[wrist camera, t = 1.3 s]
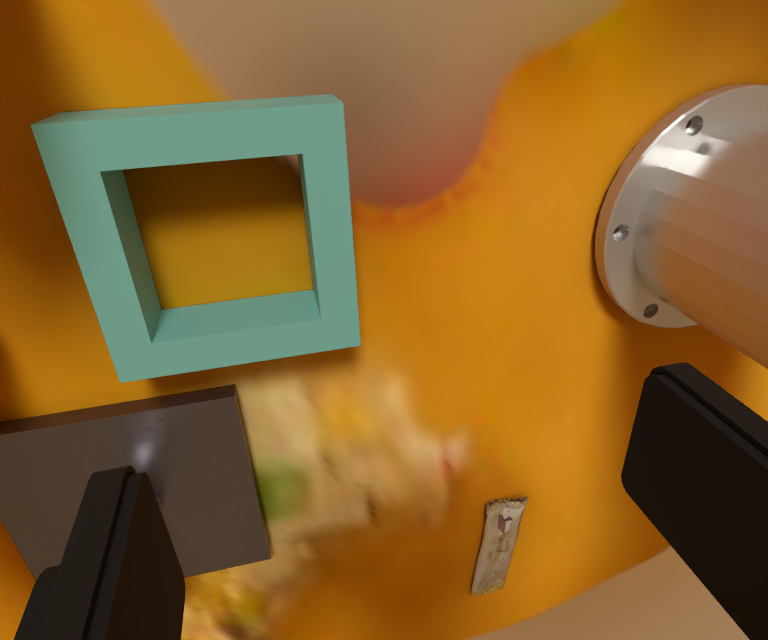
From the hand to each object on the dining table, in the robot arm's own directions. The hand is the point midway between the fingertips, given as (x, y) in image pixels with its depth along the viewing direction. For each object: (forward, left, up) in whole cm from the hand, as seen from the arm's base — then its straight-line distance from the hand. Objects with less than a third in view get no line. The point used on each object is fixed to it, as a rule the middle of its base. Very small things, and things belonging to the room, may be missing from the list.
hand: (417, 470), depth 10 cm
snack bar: (-10, +25, -16) cm, 31 cm away
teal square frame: (+4, 0, -16) cm, 16 cm away
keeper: (+11, +14, -16) cm, 24 cm away
